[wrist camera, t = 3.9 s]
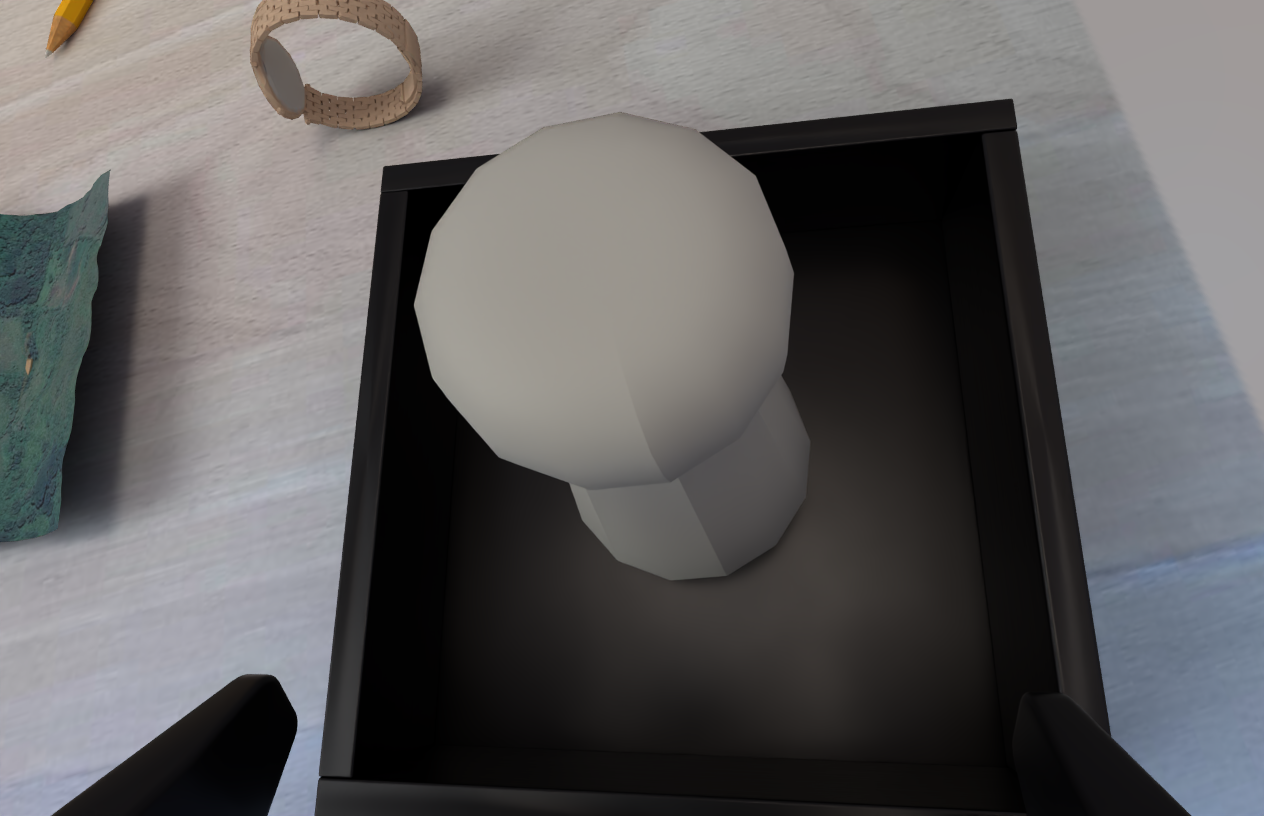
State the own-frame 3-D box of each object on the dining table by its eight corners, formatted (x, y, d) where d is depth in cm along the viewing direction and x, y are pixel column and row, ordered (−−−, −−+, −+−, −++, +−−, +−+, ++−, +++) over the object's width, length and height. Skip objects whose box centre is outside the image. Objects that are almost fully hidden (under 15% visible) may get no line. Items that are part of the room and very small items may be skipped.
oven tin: (1040, 801, 17) (1134, 868, 13) (412, 771, 19) (312, 818, 15) (963, 201, 21) (1013, 97, 17) (452, 245, 24) (382, 165, 19)
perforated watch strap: (320, 97, 26) (221, -16, 21) (444, 65, 26) (371, -58, 21) (321, 160, 25) (218, 58, 21) (449, 129, 25) (374, 17, 20)
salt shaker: (560, 536, 20) (222, 424, 8) (633, 348, 21) (442, -21, 9) (765, 616, 18) (765, 641, 6) (834, 409, 19) (952, 70, 7)
